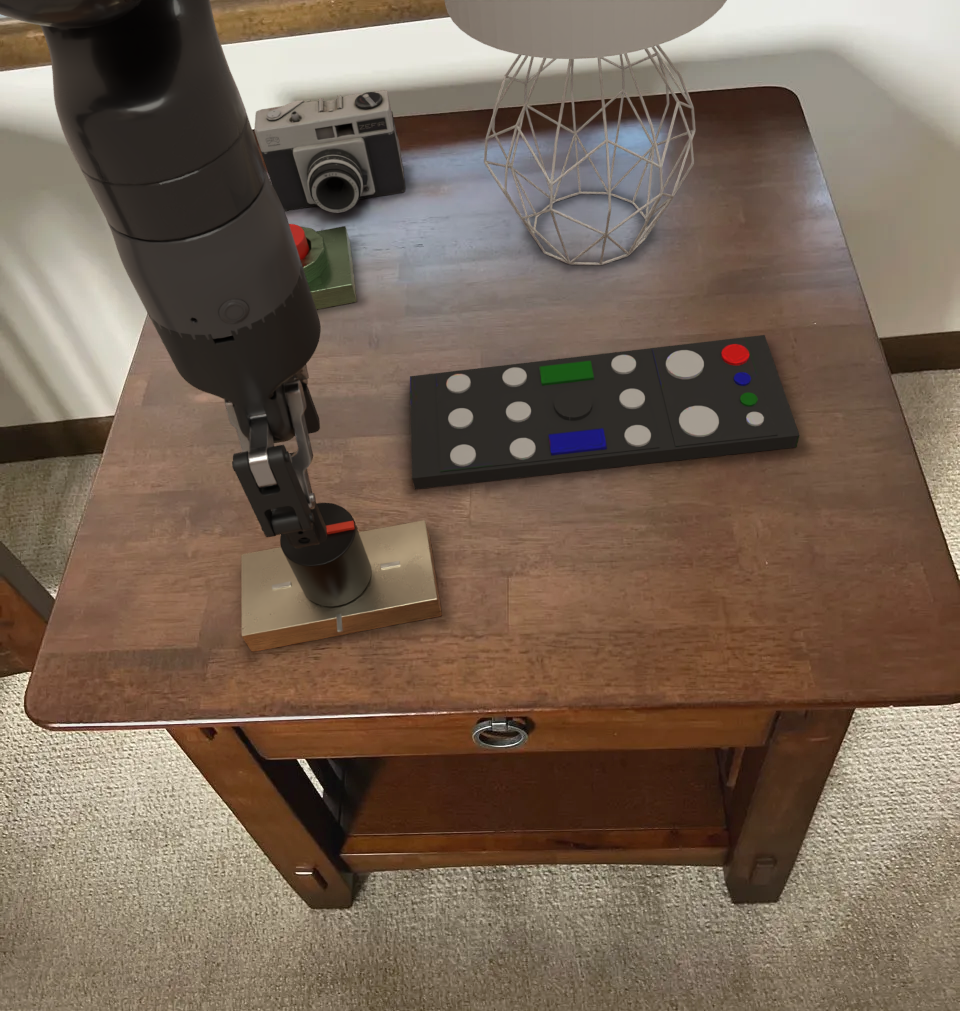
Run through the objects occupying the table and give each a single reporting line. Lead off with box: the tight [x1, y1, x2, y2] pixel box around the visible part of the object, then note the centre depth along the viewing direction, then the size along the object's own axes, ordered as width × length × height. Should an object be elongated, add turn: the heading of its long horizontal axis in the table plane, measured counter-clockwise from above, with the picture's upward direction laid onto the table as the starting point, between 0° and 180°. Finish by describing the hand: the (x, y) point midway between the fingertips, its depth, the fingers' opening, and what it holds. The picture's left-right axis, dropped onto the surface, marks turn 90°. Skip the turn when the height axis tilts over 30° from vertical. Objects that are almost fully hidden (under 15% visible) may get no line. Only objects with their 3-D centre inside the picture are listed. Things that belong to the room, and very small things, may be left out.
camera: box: [253, 89, 406, 214], centre depth 93 cm, size 14×9×10 cm, turn 89°
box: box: [300, 225, 358, 310], centre depth 89 cm, size 11×9×4 cm
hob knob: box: [279, 502, 371, 606], centre depth 64 cm, size 5×5×6 cm
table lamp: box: [444, 0, 728, 266], centre depth 74 cm, size 22×22×40 cm
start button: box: [289, 223, 309, 260], centre depth 86 cm, size 4×4×2 cm
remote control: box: [409, 334, 800, 490], centre depth 75 cm, size 11×30×2 cm, turn 93°
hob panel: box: [240, 519, 443, 653], centre depth 67 cm, size 14×9×3 cm
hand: (307, 483), depth 56 cm, fingers open, 8 cm apart
